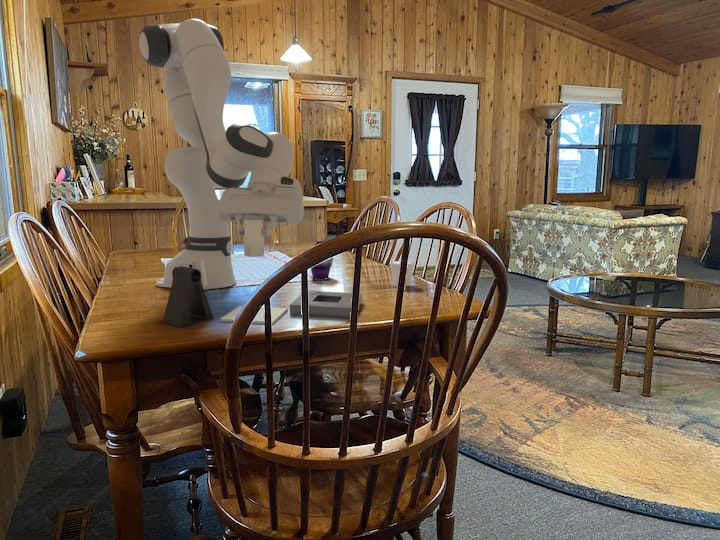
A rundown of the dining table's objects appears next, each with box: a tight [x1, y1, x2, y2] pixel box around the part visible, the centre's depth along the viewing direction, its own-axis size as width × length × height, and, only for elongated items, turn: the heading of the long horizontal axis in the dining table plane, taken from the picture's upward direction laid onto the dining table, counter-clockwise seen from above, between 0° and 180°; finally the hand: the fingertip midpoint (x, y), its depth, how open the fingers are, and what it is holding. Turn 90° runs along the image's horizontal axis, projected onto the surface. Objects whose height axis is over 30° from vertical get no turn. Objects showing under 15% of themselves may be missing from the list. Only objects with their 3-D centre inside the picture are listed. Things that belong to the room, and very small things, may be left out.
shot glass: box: [390, 260, 415, 288], centre depth 158 cm, size 7×7×7 cm
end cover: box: [243, 215, 265, 258], centre depth 119 cm, size 4×4×9 cm
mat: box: [219, 305, 289, 326], centre depth 122 cm, size 12×12×1 cm
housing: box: [289, 290, 363, 319], centre depth 130 cm, size 15×15×2 cm
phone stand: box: [162, 266, 214, 329], centre depth 116 cm, size 9×6×12 cm, turn 147°
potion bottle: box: [310, 239, 334, 280], centre depth 166 cm, size 9×9×12 cm
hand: (253, 234), depth 118 cm, fingers closed on end cover, 4 cm apart
